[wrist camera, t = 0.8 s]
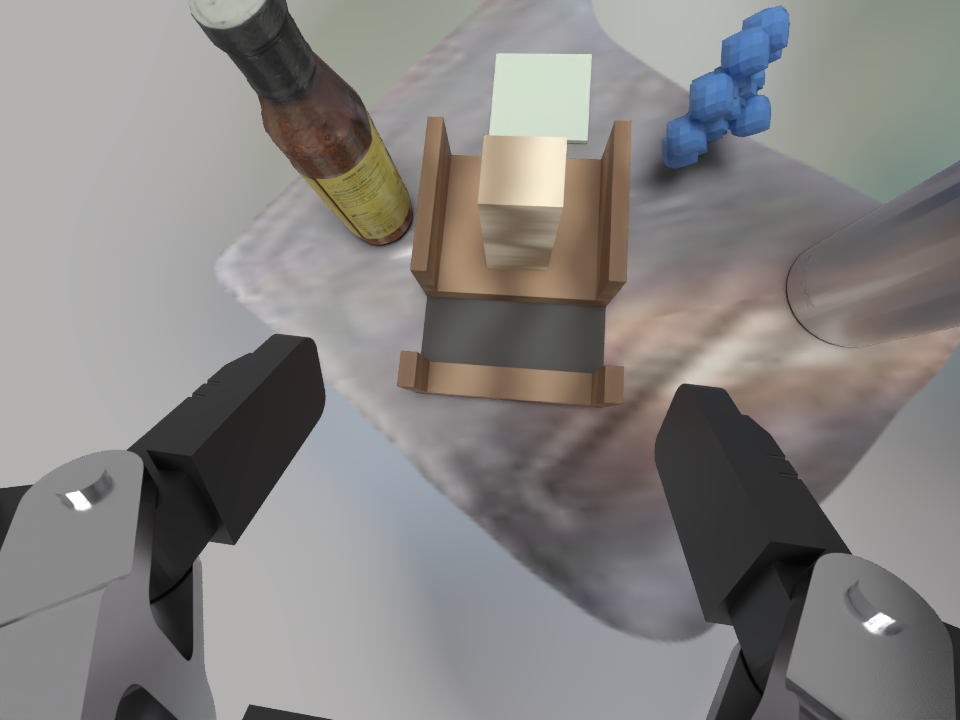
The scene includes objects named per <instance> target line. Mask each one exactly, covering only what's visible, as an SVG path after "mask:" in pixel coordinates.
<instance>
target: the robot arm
mask: <svg viewBox="0 0 960 720" xmlns="http://www.w3.org/2000/svg"><path fill="white" fill-rule="evenodd" d="M787 293H788V300H789V303H790V305H791V308H792V311H793V312H794V314H795V316H796V317H797V319H798V320H799V322H800V323H801V324H802V325H803V326H804V327H805V328H806V329H807V330H808V331H809V332H811V333H812V334H814V335H815V336H817V337H818V338H820V339H822V340H824V341H826V342H829V343H831V344H835V345H839V346H843V347H862V346H869V345H873V344H878V343H883V342H887V341H892V340H897V339H901V338H906V337H911V336H916V335H921V334H925V333H930V332H935V331H939V330H944V329H948V328H953V327H958V326H960V161H958V162H956V163H954V164H953V165H951V166H949V167H948V168H946V169H944V170H942V171H941V172H939V173H937V174H936V175H934V176H932V177H930V178H929V179H927V180H925V181H923V182H922V183H920V184H918V185H917V186H915V187H913V188H911V189H910V190H908V191H906V192H905V193H903V194H901V195H899V196H898V197H896V198H894V199H893V200H891V201H889V202H888V203H886V204H884V205H882V206H881V207H879V208H877V209H875V210H874V211H872V212H870V213H869V214H867V215H865V216H863V217H862V218H860V219H858V220H857V221H855V222H853V223H851V224H850V225H848V226H846V227H844V228H843V229H841V230H839V231H838V232H836V233H834V234H833V235H831V236H829V237H828V238H826V239H824V240H822V241H821V242H819V243H817V244H816V245H814V246H812V247H811V248H809V249H807V250H806V251H804V252H803V253H802V254H801V255H800V256H799V257H798V258H797V260H796V261H795V263H794V264H793V266H792V267H791V270H790V273H789V276H788V282H787ZM324 405H325V388H324V383H323V378H322V373H321V367H320V362H319V357H318V352H317V347H316V344H315V342H314V340H313V339H311V338H308V337H300V336H292V335H283V334H274V335H272V336H271V337H270V338H269V339H268V340H266V341H265V342H264V343H263V344H262V345H261V346H260V347H259V348H258V349H257V350H255V351H254V352H253V353H249V354H246V355H244V356H242V357H240V358H238V359H236V360H234V361H232V362H230V363H228V364H226V365H225V366H224V367H222V368H221V369H220V370H219V371H218V372H217V373H216V374H214V375H213V376H212V377H211V378H210V379H208V382H207V384H203V385H201V386H200V387H199V388H198V389H197V390H196V391H195V392H193V395H192V397H188V398H187V399H185V400H184V401H183V402H182V403H181V404H180V405H178V406H177V407H176V408H175V409H174V410H173V411H172V412H170V413H169V414H168V415H167V416H166V417H164V418H163V419H162V420H161V421H160V422H159V423H158V424H157V425H155V426H154V427H153V428H152V429H151V430H150V431H148V432H147V433H146V434H145V435H144V436H143V437H141V438H140V439H139V440H138V441H137V442H136V443H134V444H133V445H132V446H131V447H130V448H129V449H127V450H126V451H125V450H109V451H101V452H97V453H92V454H89V455H86V456H82V457H80V458H77V459H75V460H72V461H70V462H68V463H66V464H64V465H62V466H60V467H58V468H56V469H54V470H53V471H51V472H50V473H48V474H47V475H45V476H44V477H42V478H41V479H40V480H39V481H37V482H36V483H35V484H34V485H25V486H17V487H9V488H0V720H216V712H215V706H214V701H213V697H212V693H211V690H210V687H209V684H208V681H207V677H206V672H205V664H204V632H203V589H202V563H201V560H200V558H199V554H200V553H201V551H202V550H203V549H204V548H205V546H206V545H207V543H208V542H209V541H210V542H216V543H223V544H229V545H235V544H236V542H237V541H238V539H239V538H240V536H241V535H242V533H243V532H244V530H245V529H246V527H247V526H248V525H249V523H250V521H251V520H252V519H253V517H254V516H255V514H256V513H257V511H258V509H259V508H260V507H261V505H262V504H263V502H264V501H265V499H266V498H267V496H268V495H269V493H270V492H271V490H272V489H273V487H274V486H275V484H276V483H277V481H278V480H279V478H280V477H281V476H282V474H283V473H284V471H285V470H286V468H287V467H288V465H289V464H290V462H291V461H292V459H293V458H294V456H295V455H296V453H297V452H298V450H299V449H300V447H301V446H302V444H303V443H304V441H305V440H306V438H307V437H308V435H309V434H310V432H311V431H312V429H313V428H314V427H315V425H316V424H317V422H318V421H319V419H320V417H321V415H322V413H323V409H324ZM655 462H656V466H657V469H658V473H659V476H660V479H661V482H662V485H663V488H664V492H665V495H666V498H667V501H668V504H669V507H670V510H671V514H672V517H673V520H674V523H675V526H676V529H677V532H678V536H679V539H680V542H681V545H682V548H683V551H684V555H685V558H686V561H687V564H688V567H689V570H690V573H691V577H692V580H693V583H694V586H695V589H696V592H697V596H698V599H699V602H700V605H701V608H702V611H703V614H704V618H705V621H706V622H712V623H718V624H725V625H731V626H733V627H734V629H735V632H736V635H737V638H738V640H739V642H738V643H737V644H736V645H735V647H734V648H733V650H732V652H731V654H730V657H729V660H728V662H727V665H726V668H725V670H724V673H723V675H722V678H721V681H720V683H719V686H718V689H717V691H716V694H715V697H714V699H713V702H712V705H711V707H710V710H709V713H708V715H707V718H706V720H960V629H959V628H957V627H955V626H952V625H950V624H947V623H945V622H942V621H941V619H940V618H939V617H938V615H937V614H936V612H935V611H934V610H933V609H932V608H931V606H930V605H929V604H928V603H927V602H926V601H925V600H924V599H923V598H922V597H921V596H920V595H919V594H918V593H917V592H916V591H915V590H913V589H912V588H911V587H910V586H909V585H908V584H906V583H905V582H904V581H902V580H901V579H900V578H898V577H897V576H895V575H894V574H892V573H891V572H889V571H887V570H886V569H884V568H882V567H880V566H879V565H877V564H874V563H873V562H870V561H868V560H865V559H863V558H861V557H857V556H854V555H852V553H851V552H850V550H849V549H848V547H847V546H846V544H845V543H844V542H843V540H842V539H841V537H840V536H839V534H838V533H837V531H836V530H835V529H834V527H833V525H832V524H831V522H830V521H829V520H828V518H827V517H826V515H825V514H824V512H823V511H822V509H821V508H820V506H819V505H818V503H817V502H816V500H815V499H814V498H813V496H812V495H811V493H810V492H809V490H808V489H807V487H806V486H805V484H804V483H803V481H802V480H801V479H798V478H797V476H798V474H797V473H796V471H795V470H794V468H793V467H792V465H791V464H790V462H789V461H787V460H785V455H784V454H783V452H782V451H781V449H780V448H779V446H778V445H777V443H776V442H775V440H774V439H773V437H772V436H771V435H770V434H769V433H768V432H767V431H766V430H764V429H763V428H762V427H761V426H760V425H758V424H757V423H756V422H755V421H754V420H753V419H751V418H750V417H749V416H748V415H741V413H740V412H739V410H738V409H737V407H736V405H735V404H734V402H733V401H732V399H731V398H730V396H729V394H728V393H727V392H726V390H724V389H723V388H718V387H709V386H701V385H693V384H682V385H680V387H679V388H678V389H677V391H676V393H675V395H674V398H673V400H672V402H671V405H670V407H669V409H668V412H667V414H666V416H665V419H664V421H663V423H662V426H661V428H660V430H659V433H658V435H657V438H656V443H655ZM242 720H331V719H326V718H321V717H315V716H310V715H304V714H299V713H293V712H288V711H282V710H277V709H271V708H265V707H261V706H255V705H249V707H248V709H247V711H246V713H245V715H244V717H243V719H242Z"/></svg>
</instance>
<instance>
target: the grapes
mask: <svg viewBox="0 0 960 720" xmlns="http://www.w3.org/2000/svg"><path fill="white" fill-rule="evenodd" d="M789 25H790V23H789V14H788V12H787V10H786V9H785V8H783V7H782V6H776V7H772V8H768V9H764V10H762V11H760V12H758V13H756V14H754V15H752V16H751V17H749V18H747V19H745V20H744V21H743V27H742V31H740V32H738V33H736V34H734V35H732V36H730V37H729V38H727V39H725V40H723V41H722V52H721V66H720V67H718V68H716V69H715V70H714V71H713V72H709V73H707V74H705V75H703V76H701V77H699V78H697V79H695V80H693V81H692V84H690V95H689V113H688V114H686V116H683V117H680V118H678V119H676V120H673V121H671V122H669V123H667V137H666V138H664V139H663V140H662V157H663V161H664V163H665V166H668V167H670V168H673V169H676V168H680V167H684V166H688V165H691V164H693V163H696V162H697V159H698V156H699V155H701V154H704V153H707V149H708V142H710V141H714V140H717V139H720V138H723V137H722V135H725V134H727V130H728V129H730V130H731V133H732V134H733V135H735V136H738V137H746V136H750V135H753V134H757V133H760V132H762V131H765V130H768V129H769V127H770V120H771V104H770V101H769V99H768V98H767V97H766V96H764V95H757V91H758V90H760V89H762V88H763V85H764V83H765V70H764V69H766V68H768V64H769V63H771V62H773V61H776V60H778V59H780V58H781V53H782V49H783V48H785V47H787V44H788V37H789Z"/></svg>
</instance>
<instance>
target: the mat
mask: <svg viewBox="0 0 960 720" xmlns="http://www.w3.org/2000/svg"><path fill="white" fill-rule="evenodd" d="M591 57H592V54H496V64H495V75H494V86H493V97H492V108H491V120H490V131H489V135H495V136H535V137H567V143H581V144H587V139H588V119H589V98H590V78H591Z"/></svg>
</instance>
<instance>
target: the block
mask: <svg viewBox="0 0 960 720" xmlns="http://www.w3.org/2000/svg"><path fill="white" fill-rule="evenodd" d="M566 149H567V137H535V136H495V135H484V141H483V152H482V163H481V174H480V185H479V196H478V209H479V216H480V222H481V229H482V236H483V243H484V250H485V257H486V264H487V268H497V269H516V270H535V271H547V270H548V266H549V262H550V258H551V254H552V250H553V246H554V242H555V238H556V234H557V230H558V226H559V222H560V218H561V214H562V210H563V201H564V184H565V166H566Z"/></svg>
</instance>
